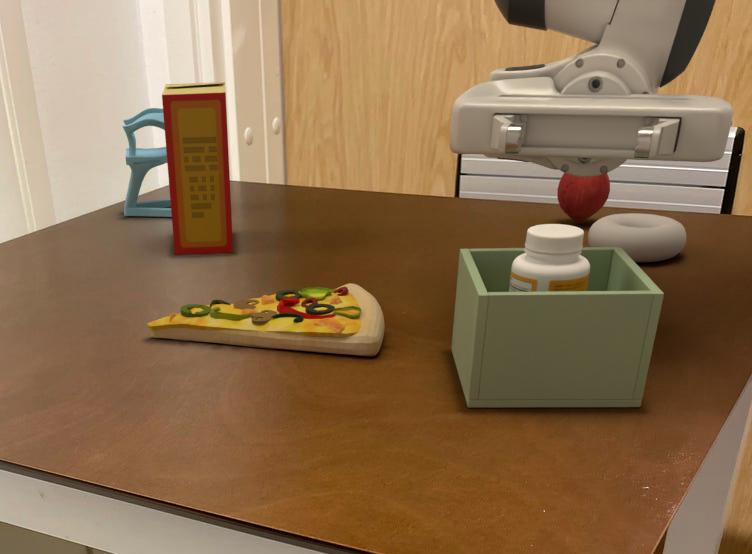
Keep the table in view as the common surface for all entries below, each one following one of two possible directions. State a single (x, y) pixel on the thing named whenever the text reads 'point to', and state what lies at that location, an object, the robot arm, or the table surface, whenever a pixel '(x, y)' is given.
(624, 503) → the table surface
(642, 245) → the donut
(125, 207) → the chair
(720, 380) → the table surface
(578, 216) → the onion
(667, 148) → the robot arm
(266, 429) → the table surface
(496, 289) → the trash bin
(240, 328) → the pizza slice
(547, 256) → the supplement bottle
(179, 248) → the baking soda box
